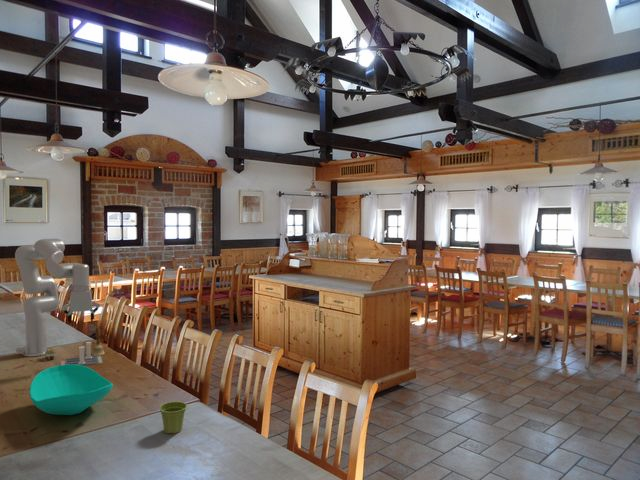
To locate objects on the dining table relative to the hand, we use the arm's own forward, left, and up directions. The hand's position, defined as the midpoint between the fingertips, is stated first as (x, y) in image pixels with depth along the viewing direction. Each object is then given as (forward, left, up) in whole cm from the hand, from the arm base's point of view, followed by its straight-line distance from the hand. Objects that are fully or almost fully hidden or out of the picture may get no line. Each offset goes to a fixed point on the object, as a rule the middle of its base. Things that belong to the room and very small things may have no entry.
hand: (81, 321), depth 234 cm
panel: (0, 0, -22) cm, 22 cm away
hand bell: (+9, +13, -23) cm, 27 cm away
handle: (+3, +4, -21) cm, 21 cm away
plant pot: (+26, -95, -22) cm, 101 cm away
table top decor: (-5, -60, -22) cm, 65 cm away
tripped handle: (0, -4, -21) cm, 21 cm away
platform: (-14, +14, -23) cm, 31 cm away
